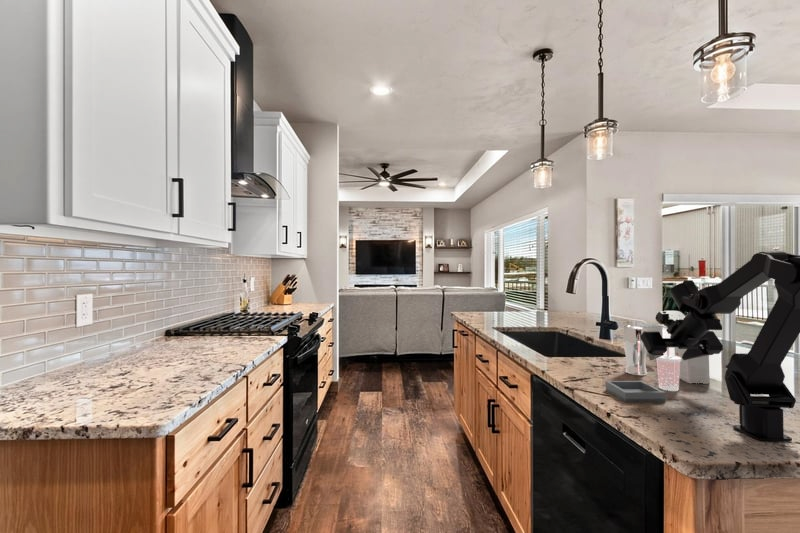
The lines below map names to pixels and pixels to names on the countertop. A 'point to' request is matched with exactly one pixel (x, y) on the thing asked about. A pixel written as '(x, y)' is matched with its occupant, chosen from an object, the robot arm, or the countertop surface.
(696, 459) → the countertop surface
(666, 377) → the beverage cup
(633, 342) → the beer glass
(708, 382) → the small box
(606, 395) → the countertop surface
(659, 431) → the countertop surface
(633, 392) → the tray
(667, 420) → the countertop surface
